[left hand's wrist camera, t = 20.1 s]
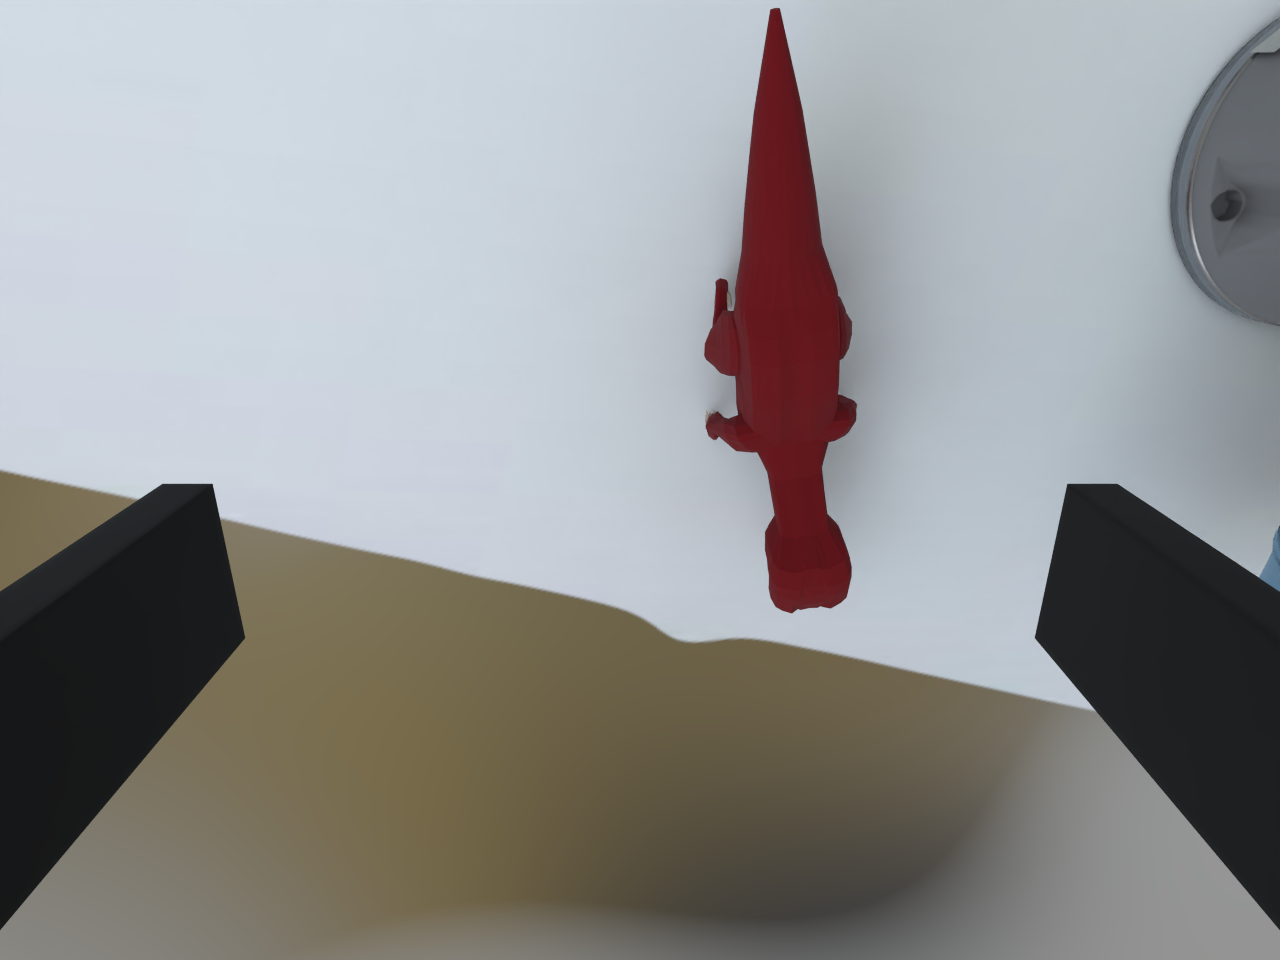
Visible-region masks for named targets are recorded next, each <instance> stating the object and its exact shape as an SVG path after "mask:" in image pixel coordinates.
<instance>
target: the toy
mask: <svg viewBox="0 0 1280 960" xmlns="http://www.w3.org/2000/svg"><path fill="white" fill-rule="evenodd" d="M735 295H736V301H735V307H734V311H728V310H727V304H728V306H729V307H730V308H731V306H732V300H731V294H730V293H729V291H728V282H727V280H725V279H721V278H720V279H718V280H717V281H716V295H715V310H714V318H713V327H712V328H711V330H710V333H709V335H708V338H707V340H706V342H705V353H704V356H705V358H706V360H707V361H709V362H710V363H711V364H712V365H713V366H714V367H715V368H716V369H717V370H718V371H719V372H720V373H722V374H725V375H728V376H735V377H736V402H737V410H738V415H737V416H735V417H732V418H729V419H727V418H724V417H723V416H722V415H721V414H720V413H719V412H718V411H717V412H716V413H715V412H714V410H713V414H712V415H711V414H710V415H708V413H707V410H706V420H705V422H706V429H707V432H708V435H709V437H711V438H712V439H713V440H716V439H717V438H718V437H720V438H721V439H723V440H724V441H725V442H726V443H727V444H729V445H730V446H731V447H732V448H733V449H734V450H736V451H742V452H757V453H758V455H759V456H760V458H761V460H762V462H763V464H764V467H765V469H766V471H767V473H768V479H769V484H770V490H771V496H772V502H773V508H774V514H775V515H774V517H773V519H772V520H771V522H770V524H769V525H768V528H767V530H766V531H765V552H766V556H767V564H768V572H769V592H770V597H771V599H772V601H773V603H774V605H775V606H776V607H777V608H779V609H780V610H782V611H786V612H789V613H793V612H794V611H796V610H797V609H800V610H802V609H807V608H818V607H820V606H822V607H826V608H832V607H834V606H836V605H838V604H839V603H841V602H842V601H843V600H844V599H845V598H846V597H847V593H848V589H849V585H850V581H851V572H852V567H851V562H850V557H849V554H848V550H847V547H846V545H845V542H844V539H843V536H842V534H841V531H840V528H839V526H838V525H837V523H836V522H835V521H834V520H833V519H832V518H831V517H830V516H829V515H828V514H827V509H826V501H825V493H824V484H823V474H822V464H823V461H824V457H825V453H826V449H827V446H828V442H831V441H835V440H837V439H839V438H841V437H843V436H845V435H846V434H847V433H848V432H849V431H850V429H851V427H852V426H853V424H854V423H855V421H856V408H857V404H856V403H855V401H853V400H851V399H849V398H847V397H844V396H842V395H838V387H839V360H840V359H843V358H844V356H845V354H846V352H847V350H848V349H849V344H850V340H851V335H852V321H851V320H850V318H849V317H848V315H847V314H846V311H845V307H844V305H843V303H842V301H841V298H840V297H839V296H838V290H837V286H836V283H835V280H834V277H833V274H832V271H831V268H830V265H829V263H828V260H827V257H826V254H825V251H824V248H823V245H822V239H821V231H820V223H819V215H818V207H817V198H816V191H815V185H814V179H813V173H812V166H811V160H810V154H809V148H808V141H807V135H806V129H805V123H804V116H803V110H802V105H801V101H800V96H799V92H798V87H797V83H796V78H795V74H794V70H793V65H792V61H791V56H790V52H789V47H788V43H787V38H786V34H785V30H784V25H783V21H782V16H781V12H780V8H774V9H771V10H770V15H769V21H768V28H767V34H766V40H765V46H764V53H763V59H762V65H761V71H760V78H759V84H758V90H757V96H756V103H755V109H754V116H753V126H752V135H751V145H750V155H749V165H748V176H747V186H746V197H745V208H744V223H743V238H742V252H741V258H740V264H739V270H738V276H737V282H736V288H735Z"/></svg>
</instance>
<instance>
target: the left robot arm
mask: <svg viewBox="0 0 1280 960" xmlns="http://www.w3.org/2000/svg"><path fill="white" fill-rule="evenodd" d="M1171 215H1172V226H1173V231H1174V236H1175V241H1176V244H1177V247H1178V250H1179V253H1180V256H1181V258H1182V260H1183V262H1184V265H1185V267H1186V268H1187V270H1188V272H1189V273H1190V275H1191V277H1192V278H1193V279H1194V281H1195V282H1196V283H1197V284H1198V286H1199V287H1200V288H1201V289H1202V290H1203V291H1204V292H1205V293H1206V294H1207V295H1208V296H1209V297H1210V298H1212V299H1213V300H1214V301H1215V302H1217V303H1218V304H1219V305H1221V306H1223V307H1225V308H1226V309H1228V310H1230V311H1232V312H1234V313H1236V314H1238V315H1241V316H1243V317H1247V318H1250V319H1253V320H1257V321H1261V322H1265V323H1269V324H1273V325H1277V326H1280V18H1279V19H1277V20H1276V21H1274V22H1273V23H1271V24H1270V25H1269V26H1268V27H1266V28H1265V29H1264V30H1263V31H1261V32H1260V33H1259V34H1257V35H1256V36H1255V37H1254V38H1253V39H1252V40H1251V41H1250V42H1249V43H1248V44H1247V45H1245V46H1244V47H1243V48H1242V49H1241V50H1240V51H1239V53H1238V54H1237V55H1236V56H1235V57H1234V58H1233V59H1232V60H1231V61H1230V62H1229V63H1228V65H1227V66H1226V67H1225V68H1224V70H1223V71H1222V72H1221V73H1220V75H1219V76H1218V77H1217V78H1216V80H1215V81H1214V83H1213V84H1212V86H1211V87H1210V89H1209V90H1208V91H1207V93H1206V94H1205V96H1204V98H1203V100H1202V101H1201V103H1200V105H1199V106H1198V108H1197V110H1196V112H1195V114H1194V116H1193V118H1192V120H1191V122H1190V124H1189V126H1188V129H1187V131H1186V134H1185V137H1184V139H1183V142H1182V144H1181V148H1180V151H1179V154H1178V158H1177V161H1176V166H1175V171H1174V176H1173V184H1172V192H1171ZM244 639H245V635H244V630H243V625H242V621H241V616H240V611H239V606H238V602H237V597H236V593H235V588H234V583H233V578H232V573H231V569H230V564H229V559H228V555H227V550H226V545H225V541H224V536H223V531H222V526H221V521H220V517H219V512H218V507H217V503H216V498H215V493H214V488H213V484H162V485H160V486H159V487H157V488H156V489H154V490H153V491H151V492H150V493H148V494H147V495H145V496H144V497H142V498H141V499H139V500H138V501H136V502H135V503H133V504H132V505H130V506H129V507H127V508H126V509H124V510H123V511H121V512H120V513H118V514H117V515H115V516H114V517H112V518H111V519H109V520H107V521H106V522H105V523H103V524H102V525H100V526H98V527H97V528H95V529H94V530H92V531H91V532H89V533H88V534H86V535H85V536H83V537H82V538H80V539H79V540H77V541H76V542H74V543H73V544H71V545H70V546H68V547H67V548H65V549H64V550H62V551H61V552H59V553H58V554H56V555H55V556H53V557H52V558H50V559H49V560H47V561H46V562H44V563H43V564H41V565H40V566H38V567H37V568H35V569H34V570H32V571H31V572H29V573H28V574H26V575H25V576H23V577H22V578H20V579H19V580H17V581H16V582H14V583H13V584H11V585H10V586H8V587H6V588H5V589H4V590H2V591H0V930H1V928H2V927H3V926H4V925H5V924H6V922H7V921H8V920H9V919H10V918H11V917H12V915H13V914H14V913H15V912H16V911H17V909H18V908H19V907H20V906H21V905H22V903H23V902H24V901H25V900H26V899H27V897H28V896H29V895H30V894H31V893H32V891H33V890H34V889H35V888H36V887H37V886H38V884H39V883H40V882H41V881H42V880H43V878H44V877H45V876H46V875H47V874H48V872H49V871H50V870H51V869H52V868H53V866H54V865H55V864H56V863H57V862H58V861H59V859H60V858H61V857H62V856H63V855H64V853H65V852H66V851H67V850H68V849H69V847H70V846H71V845H72V844H73V843H74V841H75V840H76V839H77V838H78V837H79V835H80V834H81V833H82V832H83V831H84V830H85V828H86V827H87V826H88V825H89V824H90V822H91V821H92V820H93V819H94V818H95V816H96V815H97V814H98V813H99V812H100V810H101V809H102V808H103V807H104V806H105V804H106V803H107V802H108V801H109V800H110V799H111V797H112V796H113V795H114V794H115V793H116V791H117V790H118V789H119V788H120V787H121V785H122V784H123V783H124V782H125V781H126V779H127V778H128V777H129V776H130V775H131V773H132V772H133V771H134V770H135V769H136V768H137V766H138V765H139V764H140V763H141V762H142V760H143V759H144V758H145V757H146V756H147V754H148V753H149V752H150V751H151V750H152V748H153V747H154V746H155V745H156V744H157V742H158V741H159V740H160V739H161V738H162V737H163V735H164V734H165V733H166V732H167V730H168V729H169V728H170V727H171V726H172V725H173V723H174V722H175V721H176V720H177V719H178V717H179V716H180V715H181V714H182V713H183V711H184V710H185V709H186V708H187V707H188V706H189V704H190V703H191V702H192V701H193V700H194V698H195V697H196V696H197V695H198V694H199V692H200V691H201V690H202V689H203V688H204V686H205V685H206V684H207V683H208V682H209V680H210V679H211V678H212V677H213V676H214V675H215V673H216V672H217V671H218V670H219V668H220V667H221V666H222V665H223V664H224V663H225V661H226V660H227V659H228V658H229V657H230V655H231V654H232V653H233V652H234V651H235V650H236V648H237V647H238V646H239V645H240V644H241V642H242V641H243V640H244ZM1035 639H1036V640H1037V641H1038V642H1039V644H1040V645H1041V646H1042V647H1043V648H1044V650H1045V651H1046V652H1047V653H1048V654H1049V655H1050V657H1051V658H1052V659H1053V660H1054V661H1055V663H1056V664H1057V665H1058V666H1059V667H1060V669H1061V670H1062V671H1063V672H1064V673H1065V675H1066V676H1067V677H1068V678H1069V679H1070V680H1071V682H1072V683H1073V684H1074V685H1075V686H1076V688H1077V689H1078V690H1079V691H1080V692H1081V694H1082V695H1083V696H1084V697H1085V698H1086V700H1087V701H1088V702H1089V703H1090V704H1091V706H1092V707H1093V708H1094V709H1095V710H1096V711H1097V713H1098V714H1099V715H1100V716H1101V717H1102V719H1103V720H1104V721H1105V722H1106V723H1107V725H1108V726H1109V727H1110V728H1111V729H1112V731H1113V732H1114V733H1115V734H1116V735H1117V736H1118V738H1119V739H1120V740H1121V741H1122V742H1123V744H1124V745H1125V746H1126V747H1127V748H1128V750H1129V751H1130V752H1131V753H1132V754H1133V756H1134V757H1135V758H1136V759H1137V760H1138V762H1139V763H1140V764H1141V765H1142V766H1143V768H1144V769H1145V770H1146V771H1147V772H1148V773H1149V775H1150V776H1151V777H1152V778H1153V779H1154V781H1155V782H1156V783H1157V784H1158V785H1159V787H1160V788H1161V789H1162V790H1163V791H1164V793H1165V794H1166V795H1167V796H1168V797H1169V798H1170V800H1171V801H1172V802H1173V803H1174V804H1175V806H1176V807H1177V808H1178V809H1179V810H1180V812H1181V813H1182V814H1183V815H1184V816H1185V817H1186V819H1187V820H1188V821H1189V822H1190V824H1191V825H1192V826H1193V827H1194V828H1195V830H1196V831H1197V832H1198V833H1199V834H1200V835H1201V837H1202V838H1203V839H1204V840H1205V841H1206V843H1207V844H1208V845H1209V846H1210V847H1211V849H1212V850H1213V851H1214V852H1215V853H1216V855H1217V856H1218V857H1219V858H1220V859H1221V861H1222V862H1223V863H1224V864H1225V865H1226V866H1227V868H1228V869H1229V870H1230V871H1231V872H1232V874H1233V875H1234V876H1235V877H1236V878H1237V880H1238V881H1239V882H1240V883H1241V884H1242V886H1243V887H1244V888H1245V889H1246V890H1247V891H1248V893H1249V894H1250V895H1251V896H1252V897H1253V899H1254V900H1255V901H1256V902H1257V903H1258V905H1259V906H1260V907H1261V908H1262V909H1263V911H1264V912H1265V913H1266V914H1267V915H1268V917H1269V918H1270V919H1271V920H1272V921H1273V922H1274V924H1275V925H1276V926H1277V927H1278V928H1279V930H1280V526H1279V528H1278V530H1277V531H1276V532H1275V535H1274V539H1273V551H1272V553H1271V555H1270V558H1269V560H1268V562H1267V564H1266V566H1265V568H1264V570H1263V571H1262V573H1261V575H1260V577H1259V578H1258V577H1257V576H1255V575H1254V574H1252V573H1251V572H1249V571H1248V570H1246V569H1245V568H1243V567H1242V566H1240V565H1239V564H1237V563H1236V562H1234V561H1233V560H1231V559H1230V558H1228V557H1227V556H1225V555H1224V554H1222V553H1221V552H1219V551H1218V550H1216V549H1215V548H1213V547H1212V546H1210V545H1209V544H1207V543H1206V542H1204V541H1203V540H1201V539H1200V538H1198V537H1197V536H1195V535H1194V534H1192V533H1191V532H1189V531H1188V530H1186V529H1185V528H1183V527H1182V526H1180V525H1179V524H1177V523H1176V522H1174V521H1173V520H1171V519H1170V518H1168V517H1166V516H1165V515H1163V514H1162V513H1160V512H1159V511H1157V510H1156V509H1154V508H1153V507H1151V506H1150V505H1148V504H1147V503H1145V502H1144V501H1142V500H1141V499H1139V498H1138V497H1136V496H1135V495H1133V494H1132V493H1130V492H1129V491H1127V490H1126V489H1124V488H1123V487H1121V486H1120V485H1118V484H1067V488H1066V493H1065V498H1064V503H1063V507H1062V512H1061V517H1060V521H1059V526H1058V531H1057V536H1056V540H1055V545H1054V550H1053V555H1052V559H1051V564H1050V569H1049V573H1048V578H1047V583H1046V588H1045V592H1044V597H1043V602H1042V606H1041V611H1040V616H1039V621H1038V625H1037V630H1036V635H1035Z"/></svg>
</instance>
